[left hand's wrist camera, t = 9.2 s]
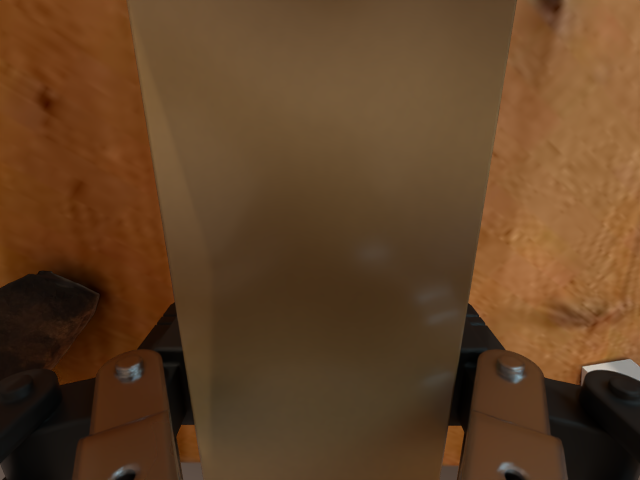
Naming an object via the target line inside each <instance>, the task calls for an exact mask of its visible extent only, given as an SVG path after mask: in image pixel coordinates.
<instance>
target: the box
mask: <svg viewBox="0 0 640 480" xmlns="http://www.w3.org/2000/svg"><path fill="white" fill-rule="evenodd" d="M516 2H517V0H127V6H128V12H129V19H130V25H131V31H132V37H133V44H134V50H135V56H136V62H137V69H138V75H139V81H140V87H141V94H142V100H143V106H144V112H145V118H146V125H147V131H148V137H149V143H150V150H151V156H152V162H153V168H154V175H155V181H156V187H157V193H158V199H159V206H160V212H161V218H162V224H163V231H164V237H165V243H166V249H167V256H168V262H169V268H170V274H171V280H172V287H173V293H174V299H175V305H176V312H177V318H178V324H179V330H180V337H181V343H182V349H183V355H184V361H185V368H186V374H187V380H188V386H189V393H190V399H191V405H192V411H193V418H194V424H195V430H196V436H197V442H198V449H199V455H200V461H201V467H202V474H203V480H440V474H441V468H442V462H443V455H444V449H445V443H446V437H447V431H448V424H449V418H450V412H451V406H452V400H453V393H454V387H455V381H456V375H457V368H458V362H459V356H460V350H461V344H462V337H463V331H464V325H465V319H466V313H467V306H468V300H469V294H470V288H471V282H472V275H473V269H474V263H475V257H476V250H477V244H478V238H479V232H480V226H481V219H482V213H483V207H484V201H485V195H486V188H487V182H488V176H489V170H490V164H491V157H492V151H493V145H494V139H495V132H496V126H497V120H498V114H499V108H500V101H501V95H502V89H503V83H504V77H505V70H506V64H507V58H508V52H509V45H510V39H511V33H512V27H513V21H514V14H515V8H516Z"/></svg>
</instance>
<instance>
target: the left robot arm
mask: <svg viewBox="0 0 640 480" xmlns="http://www.w3.org/2000/svg"><path fill="white" fill-rule="evenodd" d="M181 425H195V424H194V418H193V411H192V405H191V399H190V393H189V386H188V380H187V374H186V368H185V361H184V355H183V349H182V343H181V337H180V330H179V324H178V318H177V312H176V305H175V303H173V304H172V305H170V307H169V308H168V309H167V311H166V312H165V313H164V315H163V317H161V319H160V320H159V321H158V322H157V325H155V326H154V328H153V329H152V330H151V332H150V333H149V334H148V336H147V337H146V338H145V340H144V341H143V342H142V344H141V345H140V346H139V348H138V349H137V350H133V351H129V352H125V353H123V354H120V355H118V356H116V357H114V358H112V359H111V360H109V361H108V362H106V363H105V364H104V365H103V366H102V367H101V368H100V369H99V371H98V372H97V375H96V378H92V379H87V380H83V381H78V382H73V383H68V384H64V385H59V382H58V379H57V375H56V374H55V372H53V371H52V370H49V369H32V370H27V371H23V372H19V373H16V374H14V375H11V376H9V377H7V378H5V379H2V380H1V381H0V465H1V467H2V469H3V472H4V474H5V478H4V479H3V480H183V476H182V469H181V463H180V456H179V449H178V443H177V438H176V436H177V433H178V431H179V429H180V426H181ZM448 426H462V428H463V430H464V438H463V443H462V449H461V456H460V463H459V469H458V476H457V480H638V478H639V476H640V381H639V380H637V379H635V378H632V377H630V376H628V375H625V374H622V373H618V372H614V371H609V370H593V371H590V372H588V373H587V374H586V375H585V378H584V381H583V384H582V386H580V385H575V384H571V383H566V382H561V381H557V380H552V379H548V378H545V377H544V375H543V372H542V371H541V369H540V368H539V367H538V366H537V365H536V364H535V363H534V362H532V361H531V360H529V359H528V358H526V357H524V356H522V355H520V354H517V353H515V352H511V351H507V350H505V349H504V347H503V346H502V345H501V343H500V342H499V341H498V339H497V338H496V337H495V336H494V334H493V333H492V332H491V330H490V329H489V328H488V326H485V322H484V321H483V320H482V319H481V317H479V315H478V313H477V312H476V311H475V309H474V308H473V307H472V306H471V305H470V304H468V306H467V313H466V319H465V325H464V331H463V337H462V344H461V350H460V356H459V362H458V368H457V375H456V381H455V387H454V393H453V400H452V406H451V412H450V418H449V424H448Z"/></svg>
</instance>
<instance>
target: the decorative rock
mask: <svg viewBox="0 0 640 480" xmlns="http://www.w3.org/2000/svg"><path fill="white" fill-rule="evenodd" d="M99 296H100V295H99V294H98V293H96V292H94V291H92V290H90V289H88V288H86V287H84V286H83V285H81V284H78V283H75V282H73V281H71V280H68V279H66V278H63V277H61V276H58V275H56V274H53V273H52V271H39V272H38V274H37V275H35V274H28V275H26V276H25V277H23V278H21V279H18V280H16V281H13V282H11V283H9V284H7V285H5V286H3V287H2V288H0V381H1V380H2V379H5V378H7V377H9V376H11V375H14V374H16V373H19V372H23V371H27V370H32V369H49V370H52V369H53V368H54V367H55V366H56V364H57V363H58V362H59V360H60V359H61V358H62V356H63V355H64V354H65V353H66V352H67V351H68V349H69V348H70V346H71V345H72V343H73V342H74V340H75V339H76V337H77V336H78V335H79V333H80V332H81V331H82V330H83V329H84V327H85V326H86V325H87V323H88V322H89V320H90V319H91V318H92V316H93V315H94V313H95V311H96V307H97V303H98V300H99Z"/></svg>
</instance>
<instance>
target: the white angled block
mask: <svg viewBox="0 0 640 480" xmlns="http://www.w3.org/2000/svg"><path fill="white" fill-rule="evenodd" d="M593 370H609V371H614V372H618V373H622V374H625V375H628V376H630V377H632V378H635V379H637V380H639V381H640V366H638V365H637V364H636V363H635V362H633V361H632V360H631V359H627V360H621V361H615V362H609V363H602V364H596V365H590V366H584V367H582V379H581V386H582V384H583V381H584V378H585V375H586V374H587V373H588V372H590V371H593Z"/></svg>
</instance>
